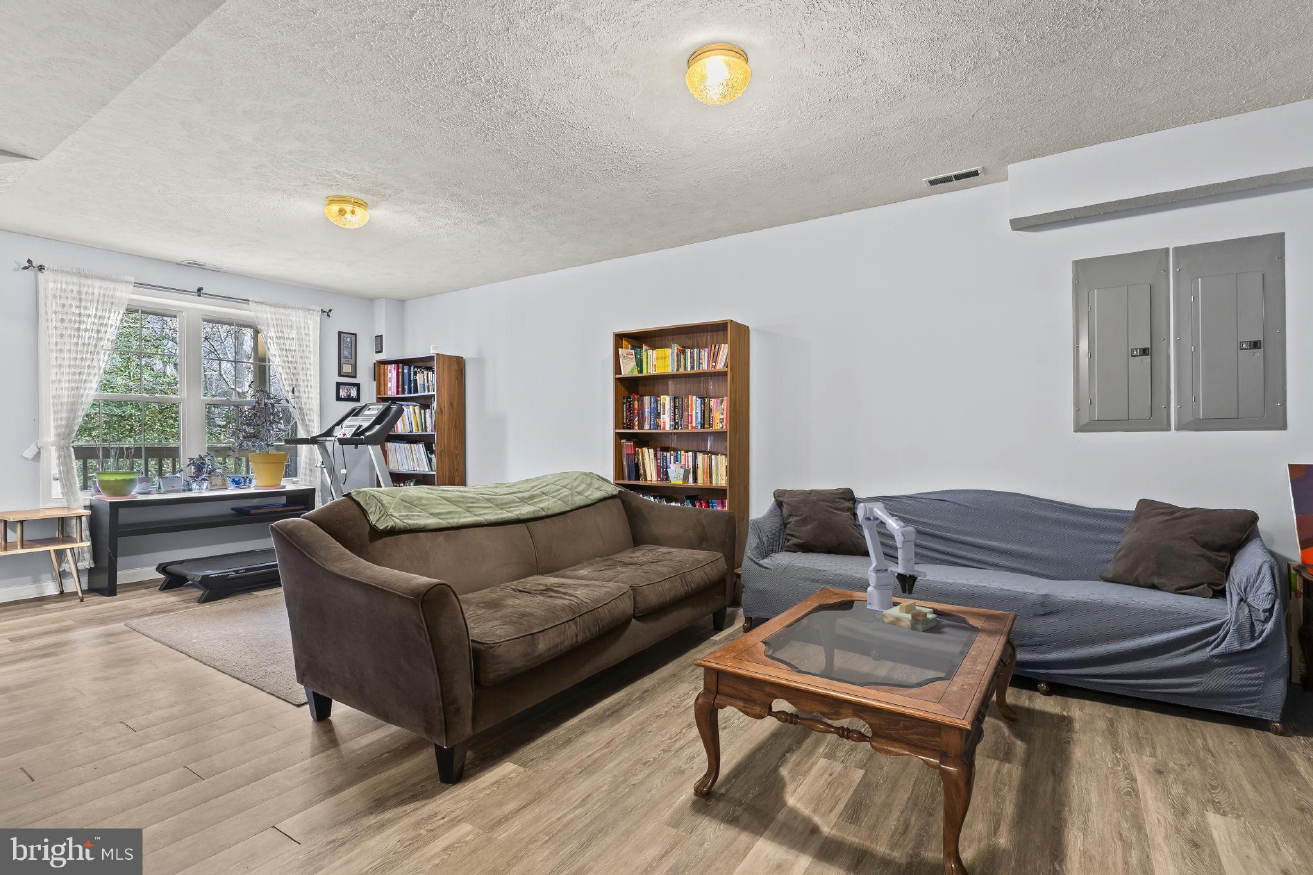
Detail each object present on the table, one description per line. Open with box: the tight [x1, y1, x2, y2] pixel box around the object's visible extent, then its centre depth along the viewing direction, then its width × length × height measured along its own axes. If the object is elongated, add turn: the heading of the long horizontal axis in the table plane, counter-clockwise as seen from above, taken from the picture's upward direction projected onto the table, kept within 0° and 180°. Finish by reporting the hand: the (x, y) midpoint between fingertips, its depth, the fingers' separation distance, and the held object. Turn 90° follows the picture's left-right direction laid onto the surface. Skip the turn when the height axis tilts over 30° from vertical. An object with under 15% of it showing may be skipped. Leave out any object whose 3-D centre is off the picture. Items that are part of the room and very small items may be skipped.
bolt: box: [911, 610, 927, 621], centre depth 231 cm, size 4×4×2 cm
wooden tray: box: [881, 611, 938, 633], centre depth 240 cm, size 16×17×4 cm
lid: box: [881, 599, 937, 620], centre depth 240 cm, size 16×16×5 cm
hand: (907, 593), depth 242 cm, fingers closed
